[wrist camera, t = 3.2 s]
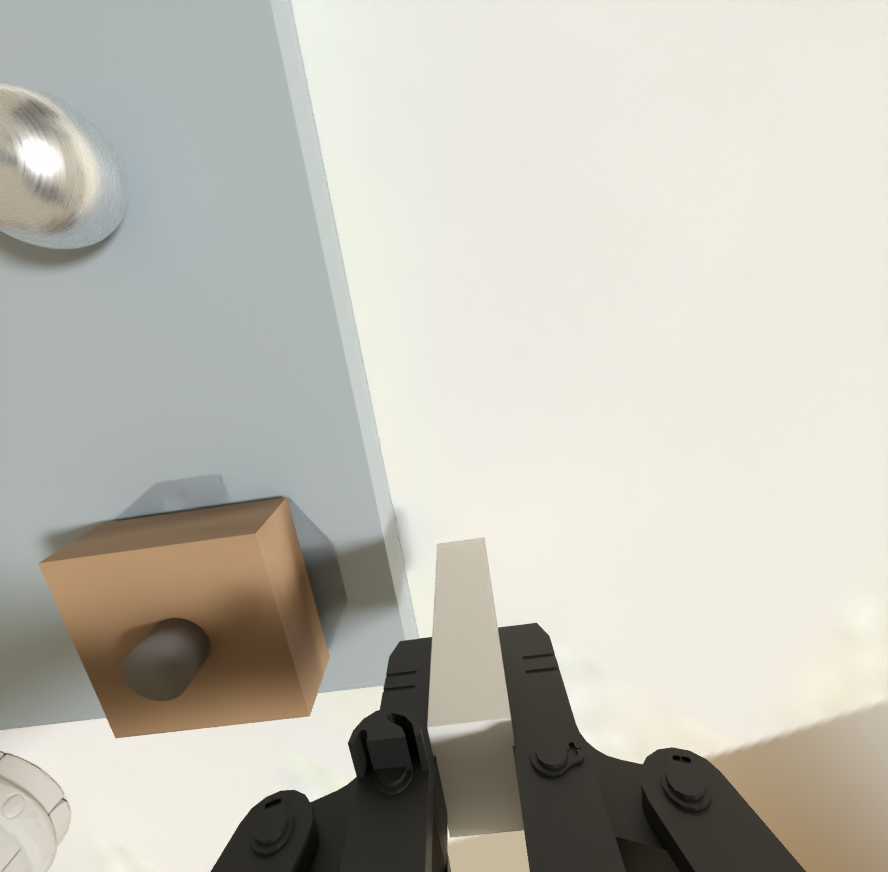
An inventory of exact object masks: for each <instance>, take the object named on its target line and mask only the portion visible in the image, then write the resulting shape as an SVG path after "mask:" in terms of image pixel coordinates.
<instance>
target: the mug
mask: <svg viewBox="0 0 888 872" xmlns="http://www.w3.org/2000/svg"><path fill="white" fill-rule="evenodd" d="M63 795H64V793H63V791H62V790H61V789H60V787H59V786H58V785H57V784H56V783H55V782H54V780H53V779H52V778H51V777H50V776H49V775H48V774H46V773H45V772H44V771H42V770H41V769H39V768H37V767H36V766H34V765H32V764H31V763H29V762H27V761H25V760H23V759H21V758H18V757H16V756H13V755H9V754H6V755H5V756H4V753H3V752H0V872H47V871H48V869H49V868H50V866H51V864H52V863H53V860H54V858H55V855H56V850H57V846H58V845H59V843H60V842H61V841H62V839H63V838H64V836H65V835H66V833H67V830H68V827H69V824H70V809H69V806H68V802H67V801H65V800H63V799H61V798H62V796H63Z"/></svg>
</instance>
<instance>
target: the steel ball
mask: <svg viewBox="0 0 888 872" xmlns="http://www.w3.org/2000/svg"><path fill="white" fill-rule="evenodd" d="M127 204H128V183H127V178H126V174H125V170H124V167H123V165H122V162H121V160H120V158H119V156H118V154H117V152H116V150H115V149H114V147H113V146H112V144H111V143H110V141H109V140H108V139H107V137H106V136H105V135H104V134H103V132H102V131H101V130H100V129H99V128H98V127H97V126H96V125H95V124H94V123H93V122H92V121H91V120H90V119H89V118H88V117H86V116H85V115H84V114H83V113H82V112H80V111H79V110H78V109H76V108H75V107H73V106H72V105H70V104H69V103H67V102H65V101H64V100H62V99H61V98H58V97H56V96H54V95H52V94H50V93H48V92H46V91H43V90H40V89H38V88H35V87H31V86H27V85H23V84H18V83H11V82H0V231H1V232H3V233H5V234H7V235H9V236H11V237H13V238H15V239H18V240H20V241H23V242H26V243H29V244H32V245H36V246H41V247H46V248H53V249H74V248H82V247H86V246H89V245H92V244H95V243H97V242H99V241H101V240H103V239H104V238H106V237H107V236H109V235H110V234H111V233H112V232H113V231H114V230H115V229H116V228H117V227H118V225H119V224H120V222H121V221H122V219H123V217H124V214H125V212H126V208H127Z"/></svg>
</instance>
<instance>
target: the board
mask: <svg viewBox="0 0 888 872" xmlns="http://www.w3.org/2000/svg"><path fill="white" fill-rule="evenodd" d="M0 82H11V83H18V84H23V85H27V86H31V87H35V88H38V89H40V90H43V91H46V92H48V93H50V94H52V95H54V96H56V97H58V98H61V99H62V100H64V101H65V102H67V103H69V104H70V105H72V106H73V107H75V108H76V109H78V110H79V111H80V112H82V113H83V114H84V115H85V116H86V117H88V118H89V119H90V120H91V121H92V122H93V123H94V124H95V125H96V126H97V127H98V128H99V129H100V130H101V131H102V132H103V134H104V135H105V136H106V137H107V139H108V140H109V141H110V143H111V144H112V146H113V147H114V149H115V150H116V152H117V154H118V156H119V158H120V160H121V162H122V165H123V167H124V170H125V174H126V178H127V183H128V204H127V208H126V212H125V214H124V217H123V219H122V221H121V222H120V224H119V225H118V227H117V228H116V229H115V230H114V231H113V232H112V233H111V234H110V235H109V236H107V237H106V238H104V239H103V240H101V241H99V242H97V243H95V244H92V245H89V246H86V247H82V248H74V249H53V248H46V247H41V246H36V245H32V244H29V243H26V242H23V241H20V240H18V239H15V238H13V237H11V236H9V235H7V234H5V233H3V232H1V231H0V730H5V729H13V728H22V727H30V726H39V725H48V724H56V723H65V722H73V721H82V720H91V719H99V718H106V715H105V713H104V711H103V709H102V706H101V704H100V702H99V700H98V697H97V695H96V693H95V691H94V688H93V686H92V684H91V682H90V679H89V677H88V675H87V673H86V670H85V668H84V666H83V664H82V661H81V659H80V657H79V655H78V652H77V650H76V648H75V646H74V643H73V641H72V639H71V637H70V634H69V632H68V630H67V628H66V625H65V623H64V621H63V619H62V616H61V614H60V612H59V610H58V607H57V605H56V603H55V601H54V598H53V596H52V594H51V592H50V589H49V587H48V585H47V583H46V580H45V578H44V576H43V574H42V571H41V569H40V567H39V565H38V563H39V562H41V561H42V560H44V559H46V558H47V557H49V556H50V555H52V554H54V553H55V552H57V551H58V550H60V549H62V548H63V547H65V546H66V545H68V544H70V543H71V542H73V541H75V540H76V539H78V538H79V537H81V536H83V535H84V534H86V533H87V532H89V531H91V530H92V529H94V528H95V527H97V526H99V525H100V524H102V523H107V522H114V521H121V520H128V519H135V518H143V517H150V516H157V515H164V514H171V513H178V512H185V511H192V510H199V509H206V508H213V507H221V506H228V505H235V504H242V503H249V502H256V501H263V500H270V499H277V498H284V497H287V499H288V503H289V507H290V511H291V514H292V518H293V522H294V526H295V529H296V533H297V537H298V541H299V544H300V548H301V552H302V555H303V559H304V563H305V567H306V570H307V574H308V578H309V582H310V585H311V589H312V593H313V597H314V600H315V604H316V608H317V612H318V615H319V619H320V623H321V626H322V630H323V634H324V638H325V641H326V645H327V649H328V653H329V656H330V658H329V661H328V664H327V667H326V670H325V673H324V676H323V678H322V681H321V684H320V687H319V690H318V693H323V692H331V691H340V690H349V689H357V688H366V687H374V686H383V685H384V683H385V678H386V672H387V666H388V661H389V656H390V655H391V653H392V652H393V650H394V649H395V647H396V646H397V644H398V643H399V641H404V640H412V639H418V637H419V636H418V631H417V626H416V621H415V616H414V611H413V606H412V601H411V596H410V591H409V586H408V581H407V576H406V571H405V566H404V561H403V556H402V551H401V546H400V541H399V537H398V532H397V527H396V522H395V517H394V512H393V507H392V502H391V497H390V492H389V487H388V482H387V477H386V472H385V467H384V462H383V457H382V452H381V447H380V442H379V437H378V432H377V427H376V422H375V418H374V413H373V408H372V403H371V398H370V393H369V388H368V383H367V378H366V373H365V368H364V363H363V358H362V353H361V348H360V343H359V338H358V333H357V328H356V323H355V318H354V313H353V308H352V303H351V299H350V294H349V289H348V284H347V279H346V274H345V269H344V264H343V259H342V254H341V249H340V244H339V239H338V234H337V229H336V224H335V219H334V214H333V209H332V204H331V199H330V194H329V189H328V184H327V180H326V175H325V170H324V165H323V160H322V155H321V150H320V145H319V140H318V135H317V130H316V125H315V120H314V115H313V110H312V105H311V100H310V95H309V90H308V85H307V80H306V75H305V70H304V65H303V60H302V56H301V51H300V46H299V41H298V36H297V31H296V26H295V21H294V16H293V11H292V6H291V1H290V0H0Z"/></svg>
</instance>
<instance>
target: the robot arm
mask: <svg viewBox="0 0 888 872" xmlns="http://www.w3.org/2000/svg"><path fill="white" fill-rule="evenodd" d="M348 745H349V749H350V753H351V757H352V760H353V764H354V768H355V771H356V775H357V777H356V778H355V779H354V780H352V781H351V782H350V783H349V784H348V785H346V786H344V787H343V788H341V789H339V790H337V791H335V792H333V793H331V794H329V795H326V796H324V797H322V798H320V799H317V800H315V801H313V802H311V803H310V802H309V800H308V798H307V797H306V795H305V794H302V793H300V792H298V791H296V790H285V791H279V792H277V793H275V794H272V795H270V796H268V797H266V798H264V799H263V800H262V801H261V802H259V803H258V804H257V805H256V806H254V807H253V808H252V809H251V810H250V811H249V813H248V814H247V815H246V817H245V818H244V819H243V820H242V822H241V823H240V824H239V826H238V828H237V829H236V831H235V833H234V834H233V836H232V838H231V839H230V841H229V842H228V844H227V846H226V847H225V849H224V851H223V852H222V854H221V856H220V857H219V859H218V861H217V862H216V864H215V865H214V867H213V869H212V870H211V872H451V868H450V863H449V857H448V852H447V824H448V829H449V834H450V837H459V836H469V835H480V834H490V833H499V832H510V831H521V830H524V832H525V839H526V846H527V853H528V861H529V868H530V872H806V871H805V870H804V869H803V868H802V867H801V865H800V864H799V863H798V862H797V861H796V859H795V858H794V857H793V856H792V855H791V854H790V853H789V851H788V850H787V849H786V848H785V847H784V845H783V844H782V843H781V842H780V841H779V840H778V838H777V837H775V835H774V834H773V833H772V832H771V830H770V829H769V828H768V827H767V826H766V825H765V823H764V822H763V821H762V820H761V819H760V817H759V816H758V815H757V814H756V813H755V812H754V810H753V809H752V808H751V807H750V806H749V805H748V804H747V802H746V801H745V800H744V799H743V798H742V797H741V795H740V794H739V793H738V792H737V791H736V789H735V788H734V787H733V786H732V785H731V784H730V783H729V781H728V780H727V779H726V778H725V777H724V775H722V773H721V772H720V771H719V770H718V769H717V768H715V767H714V766H713V765H712V764H711V763H710V762H709V761H708V760H706V759H705V758H703V757H701V756H699V755H697V754H695V753H693V752H691V751H688V750H683V749H678V748H673V747H672V748H666V749H659V750H656V751H655V752H653V753H652V754H650V755H649V756H647V757H646V759H645V761H644V763H643V764H638V763H633V762H629V761H624V760H619V759H616V758H613V757H610V756H607V755H605V754H603V753H601V752H599V751H598V750H596V749H595V748H593V747H592V746H591V745H590V744H589V743H588V742H586V740H585V739H584V738H583V736H582V735H581V734H580V732H579V730H578V728H577V725H576V723H575V720H574V716H573V713H572V710H571V706H570V703H569V700H568V697H567V693H566V690H565V687H564V683H563V680H562V677H561V673H560V670H559V667H558V663H557V660H556V657H555V654H554V650H553V647H552V643H551V640H550V637H549V635H548V634H547V633H546V632H545V631H544V630H543V629H542V628H541V627H540V626H539V625H538V624H537V623H532V624H524V625H515V626H507V627H499V628H498V627H497V620H496V613H495V606H494V599H493V593H492V586H491V579H490V572H489V566H488V559H487V552H486V545H485V539H484V538H479V539H471V540H464V541H456V542H449V543H441V544H437V560H436V578H435V596H434V615H433V633H432V637H429V638H421V639H412V640H404V641H399V643H398V644H397V646H396V647H395V649H394V650H393V652H392V653H391V655H390V656H389V661H388V666H387V672H386V678H385V683H384V692H383V695H382V700H381V706H380V710H379V711H376V712H374V713H372V714H371V715H369V716H368V717H366V718H364V719H363V720H362V721H361V722H360V724H359V725H358V726H357V727H356V728H355V729H354V730H353V733H352V735H351V737H350V740H349V742H348Z"/></svg>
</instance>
